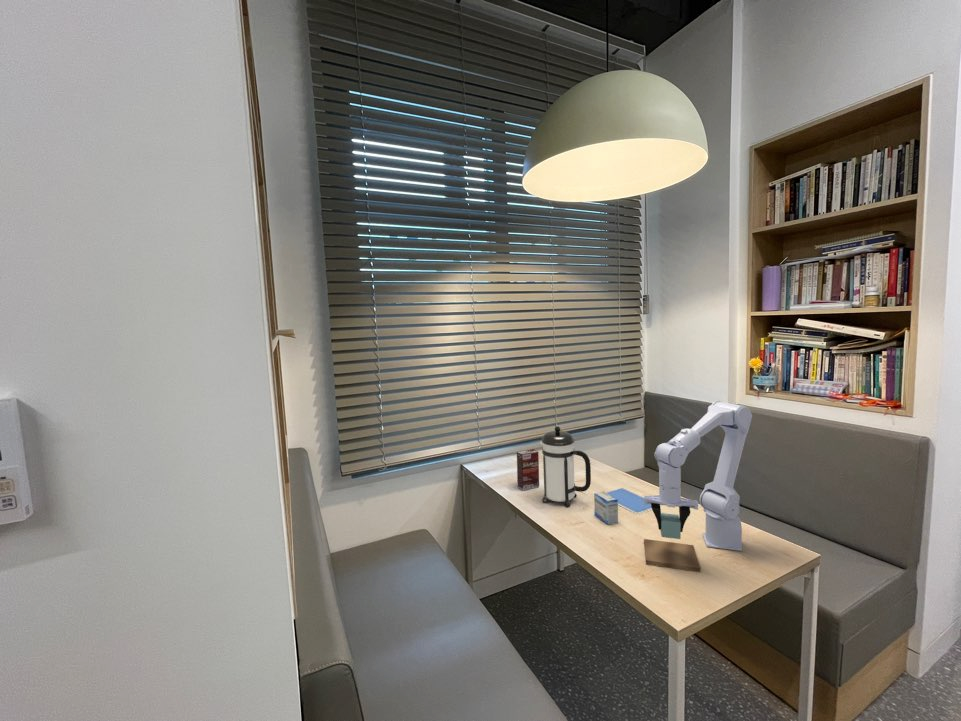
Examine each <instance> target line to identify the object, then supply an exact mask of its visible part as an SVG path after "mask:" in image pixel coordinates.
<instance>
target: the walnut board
mask: <svg viewBox="0 0 961 721" xmlns="http://www.w3.org/2000/svg"><path fill="white" fill-rule="evenodd" d="M643 544H644V545H643V546H644V557H645V564H646V565H648V566H649V565H650V566H656V565H657V566H656V567H663V568H671V569H677V570H685V571H691V572H692V571H693V572H696V573H701V566H700V562H699V559H698V556H697V553H696V550H695V546H694V544H688V543H680V542H672V541H665V540H664V541H663V540H657V539H647V538H644V539H643Z"/></svg>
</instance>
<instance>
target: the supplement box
mask: <svg viewBox="0 0 961 721" xmlns="http://www.w3.org/2000/svg"><path fill="white" fill-rule="evenodd" d="M539 458H540V457H539V451H538V450H535V449H527V450H523V451H517V452H516V469H517V470H516V474H517V475H516V476H517V478H516V479H517V488H518V489H520V490H521V491H522V492H523V491H527V490H532V489H536V488H540V471H539V470H540V468H539V466H540V461H539Z"/></svg>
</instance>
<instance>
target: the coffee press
mask: <svg viewBox="0 0 961 721" xmlns="http://www.w3.org/2000/svg"><path fill="white" fill-rule="evenodd" d="M574 443H575V438H574V437H573V435H572V434H571V433H569V432H567V431H563V430H561V427H560V426H555V427H554V431H553V430H552V431H549V432H546V433H544V434H543V436H542V438H541V441H539V443H538V445H540V446H541V445H542V448H541V449H542V450H541V451H542V452H541V453H542V462H543V463H542V466H543V493H544V494H543V497H542V499H541V501H542V503H543V504H547V502H548V501H549V500H550V501H553V502H558V503H559V502H560V503H561V502H563V503H564V506H565V508H569V507H571V504H570V501H571V500H572V499H575V498H577V497H578V495H577V493H576V492H578V493H579V492H586V491H588V490H589V488H590V486H591V482H592V476H591V475H592V473H591V472H592V471H591V469H592V468H591V461H590V457H589V456H588V455H587V453H585V452H584V451H583V450H575V446H574ZM575 456H579V457H581V458H582V460H584V465H585V485H583V486H578V485H576V484H575Z"/></svg>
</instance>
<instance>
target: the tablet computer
mask: <svg viewBox="0 0 961 721" xmlns="http://www.w3.org/2000/svg"><path fill="white" fill-rule="evenodd" d="M606 493H607V494H609V495H611V496H613V497H614V498H616V499H618V507H622V508H623V509H624V510H627V511H629V510H630V511H631V513H632V512H633V513H632V514H634V513H636V514H635V515H637V514H639V513H642V512H645V511H648V510H650V511H652V510H651V509H652V507H651V504H647V505H646V504H644V503H643V496H640V495H638V494H636V493H634V492H632V491H630V490H627V489H625V488H622V487H621V488H618V489H614V490H611V491H608V492H606ZM630 511H629V512H630ZM648 512H649V511H648ZM645 513H646V512H645ZM642 514H643V513H642ZM639 515H640V514H639Z"/></svg>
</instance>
